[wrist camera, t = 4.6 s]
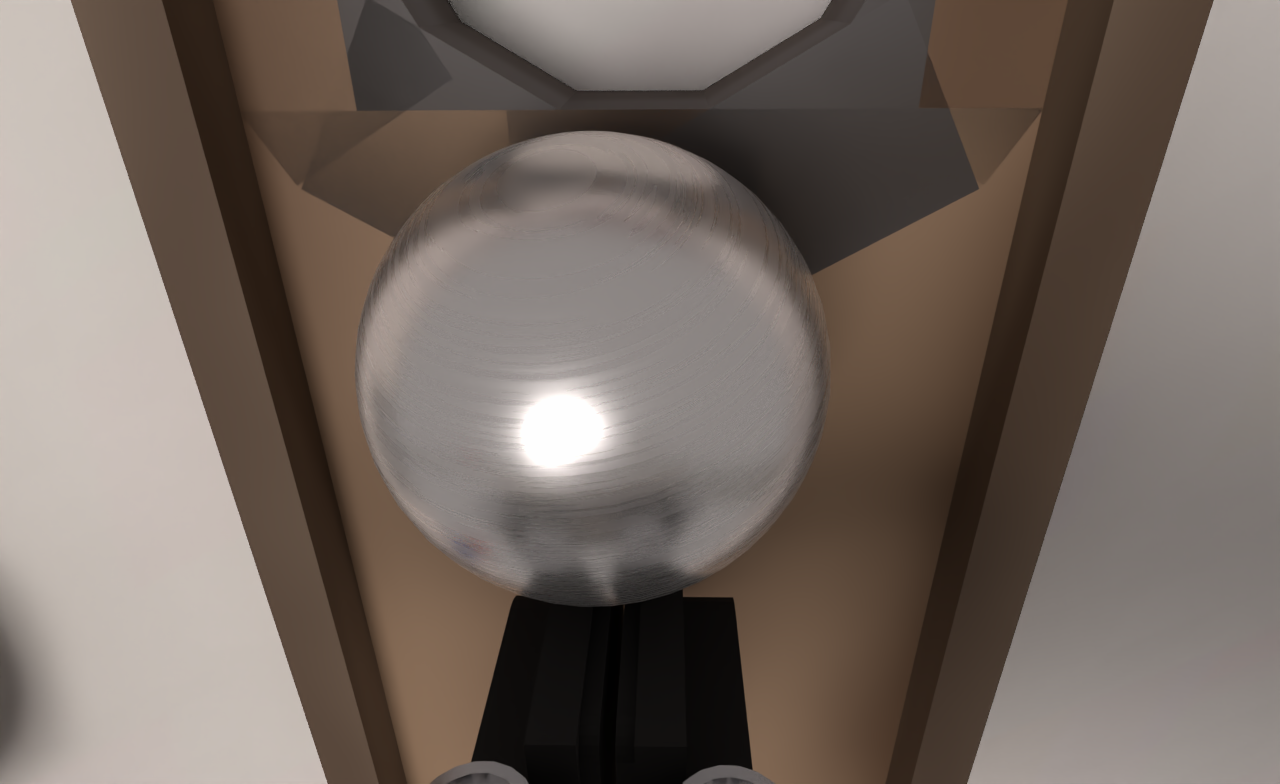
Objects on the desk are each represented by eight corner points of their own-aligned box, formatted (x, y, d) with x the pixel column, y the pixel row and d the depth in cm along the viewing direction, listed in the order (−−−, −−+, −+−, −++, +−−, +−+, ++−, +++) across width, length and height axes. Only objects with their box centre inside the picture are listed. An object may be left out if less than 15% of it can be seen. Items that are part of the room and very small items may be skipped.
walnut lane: (1352, -1134, 6) (1852, -1961, 4) (889, 797, 19) (925, 930, 16) (-46, -1048, 7) (-515, -1731, 4) (407, 783, 19) (364, 910, 16)
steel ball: (807, 357, 11) (831, 20, 8) (829, 693, 8) (889, 400, 4) (492, 359, 12) (372, 56, 8) (398, 668, 9) (131, 402, 5)
